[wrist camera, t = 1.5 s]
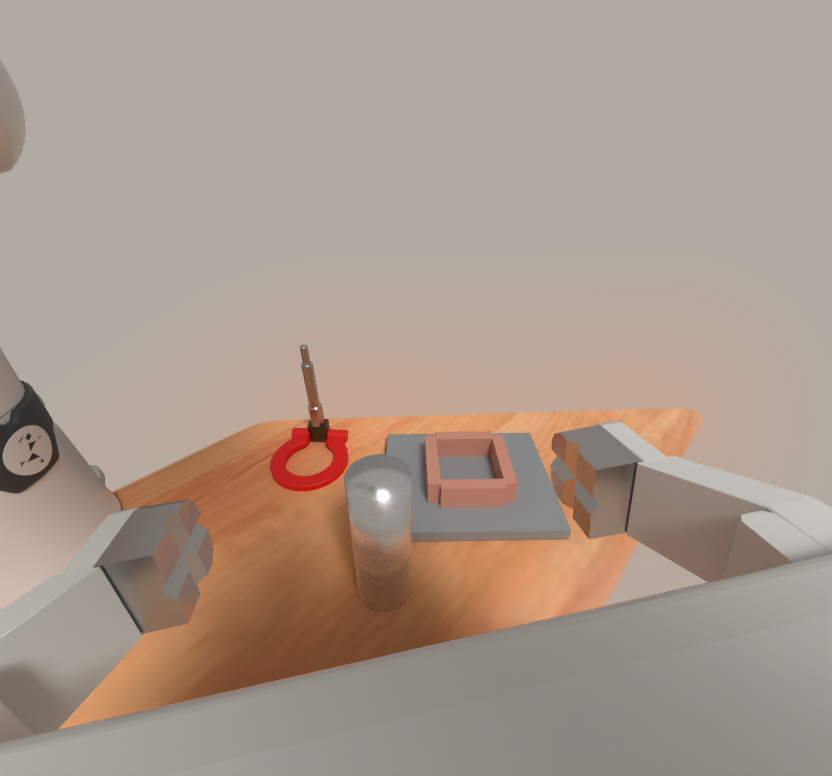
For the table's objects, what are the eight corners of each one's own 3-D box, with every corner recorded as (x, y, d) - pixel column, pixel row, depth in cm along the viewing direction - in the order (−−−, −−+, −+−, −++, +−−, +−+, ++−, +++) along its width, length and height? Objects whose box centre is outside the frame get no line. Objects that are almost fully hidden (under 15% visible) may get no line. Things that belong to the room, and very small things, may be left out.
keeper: (381, 542, 36) (379, 514, 34) (387, 442, 48) (386, 417, 46) (568, 539, 36) (577, 511, 34) (528, 441, 48) (533, 416, 46)
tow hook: (339, 496, 41) (356, 436, 49) (321, 394, 34) (345, 343, 41) (260, 492, 42) (289, 434, 49) (226, 391, 34) (266, 341, 42)
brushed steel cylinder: (355, 611, 30) (339, 502, 24) (360, 560, 34) (348, 454, 28) (412, 610, 31) (411, 501, 24) (411, 559, 34) (410, 453, 28)
